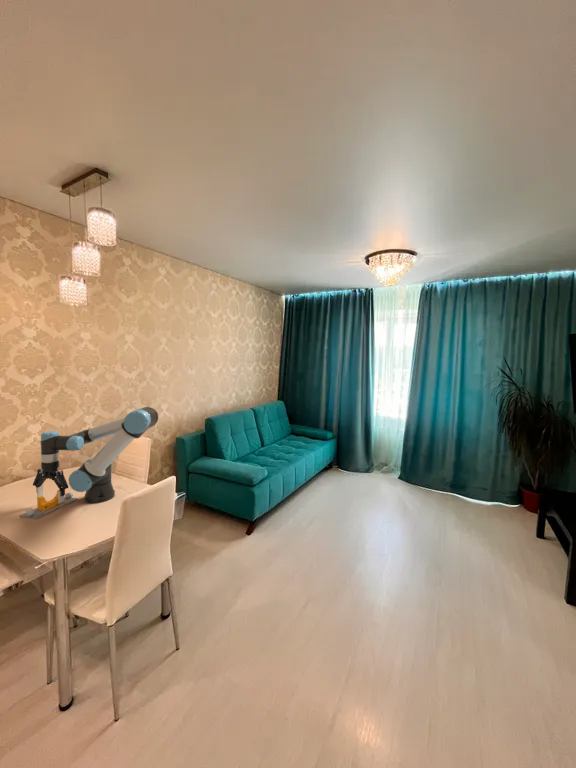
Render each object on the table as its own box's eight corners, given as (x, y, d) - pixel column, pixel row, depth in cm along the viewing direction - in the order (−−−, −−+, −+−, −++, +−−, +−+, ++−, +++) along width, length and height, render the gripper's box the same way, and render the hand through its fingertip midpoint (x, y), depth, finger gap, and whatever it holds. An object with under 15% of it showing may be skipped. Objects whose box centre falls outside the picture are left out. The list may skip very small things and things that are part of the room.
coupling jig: (77, 499, 181) (77, 492, 181) (36, 519, 158) (36, 511, 157) (63, 497, 183) (63, 490, 183) (20, 516, 160) (20, 509, 159)
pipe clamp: (43, 511, 165) (42, 498, 164) (37, 509, 166) (37, 497, 166) (66, 502, 176) (66, 490, 176) (61, 500, 177) (60, 489, 177)
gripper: (76, 461, 170) (76, 500, 171) (37, 456, 175) (38, 494, 176) (63, 465, 163) (64, 506, 164) (23, 460, 168) (24, 500, 169)
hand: (50, 500), depth 170 cm, fingers open, 13 cm apart
